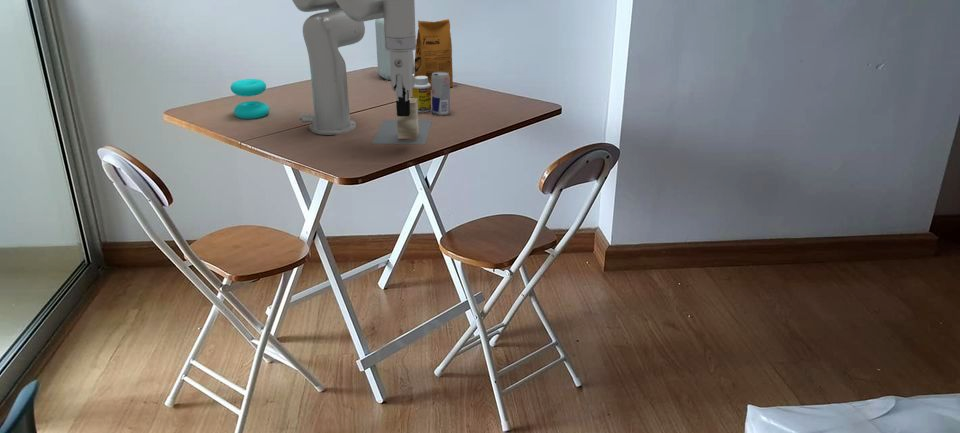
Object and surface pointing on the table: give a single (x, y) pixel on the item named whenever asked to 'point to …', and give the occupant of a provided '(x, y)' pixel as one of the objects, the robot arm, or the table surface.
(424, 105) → the supplement bottle
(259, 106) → the donuts
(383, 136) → the rubber mat
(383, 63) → the vase
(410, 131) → the birch block
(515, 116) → the table surface
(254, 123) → the table surface
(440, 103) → the energy drink
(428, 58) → the coffee package
